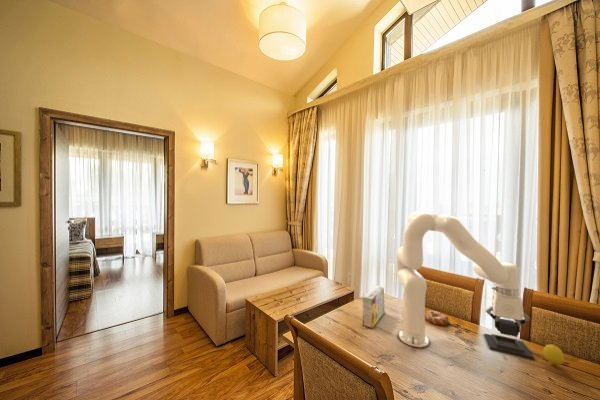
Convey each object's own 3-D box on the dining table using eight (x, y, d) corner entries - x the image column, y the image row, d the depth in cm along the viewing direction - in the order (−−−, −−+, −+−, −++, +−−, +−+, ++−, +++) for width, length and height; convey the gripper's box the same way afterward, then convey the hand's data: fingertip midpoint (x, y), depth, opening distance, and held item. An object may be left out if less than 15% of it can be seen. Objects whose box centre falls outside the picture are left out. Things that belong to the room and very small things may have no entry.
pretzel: (419, 317, 131) (419, 310, 131) (433, 314, 134) (433, 307, 134) (438, 328, 119) (438, 320, 119) (453, 324, 123) (453, 317, 123)
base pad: (533, 359, 96) (533, 354, 96) (490, 349, 102) (490, 344, 102) (522, 343, 106) (522, 339, 106) (484, 335, 113) (484, 330, 113)
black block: (517, 337, 101) (517, 326, 101) (500, 333, 103) (500, 323, 103) (513, 330, 106) (513, 320, 106) (497, 327, 108) (497, 317, 108)
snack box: (375, 310, 139) (375, 284, 139) (384, 312, 136) (384, 286, 136) (362, 325, 122) (362, 296, 122) (372, 328, 119) (372, 299, 119)
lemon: (566, 371, 89) (566, 350, 89) (546, 366, 92) (546, 346, 92) (560, 363, 94) (560, 343, 94) (541, 358, 97) (541, 339, 97)
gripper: (484, 290, 105) (484, 330, 105) (536, 297, 97) (536, 341, 97) (481, 285, 112) (481, 322, 112) (529, 291, 104) (529, 332, 104)
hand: (507, 331), depth 104 cm, fingers closed on black block, 5 cm apart
